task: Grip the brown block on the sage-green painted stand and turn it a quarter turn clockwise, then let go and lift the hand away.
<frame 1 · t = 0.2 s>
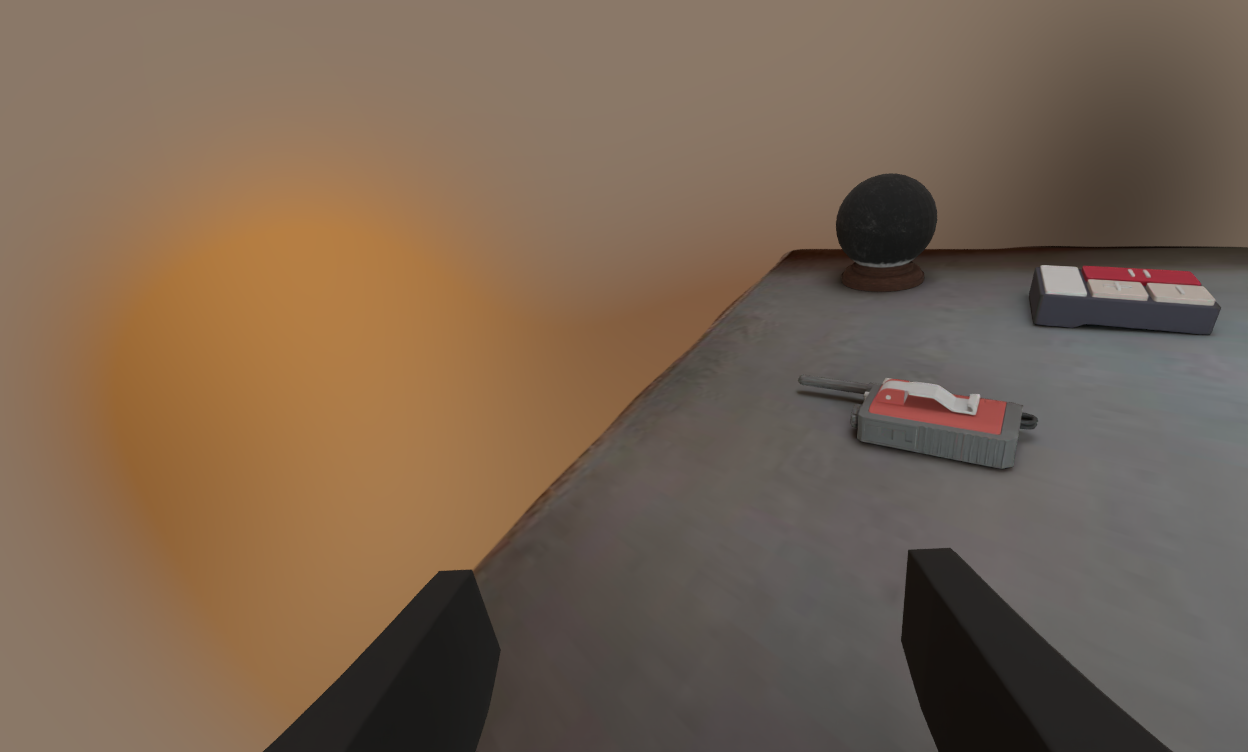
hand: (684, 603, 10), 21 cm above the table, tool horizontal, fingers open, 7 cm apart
ball on wooden base: (881, 280, 88), on the table
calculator: (1110, 314, 68), on the table
walkie-talkie: (897, 426, 52), on the table
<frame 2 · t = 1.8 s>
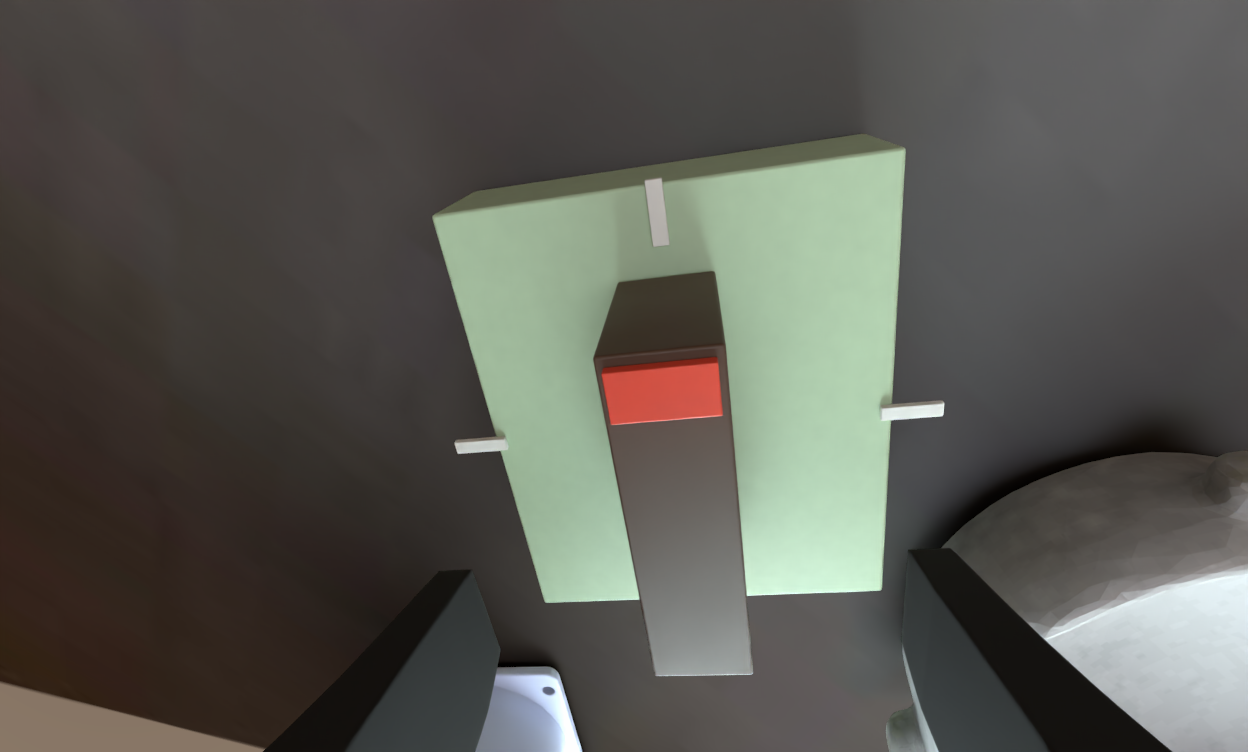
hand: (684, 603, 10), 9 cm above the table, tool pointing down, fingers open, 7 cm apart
brown block: (684, 479, 13), point 5 cm above the table, hinge at 0.0°
stand: (684, 373, 18), on the table
dish: (1083, 606, 20), on the table
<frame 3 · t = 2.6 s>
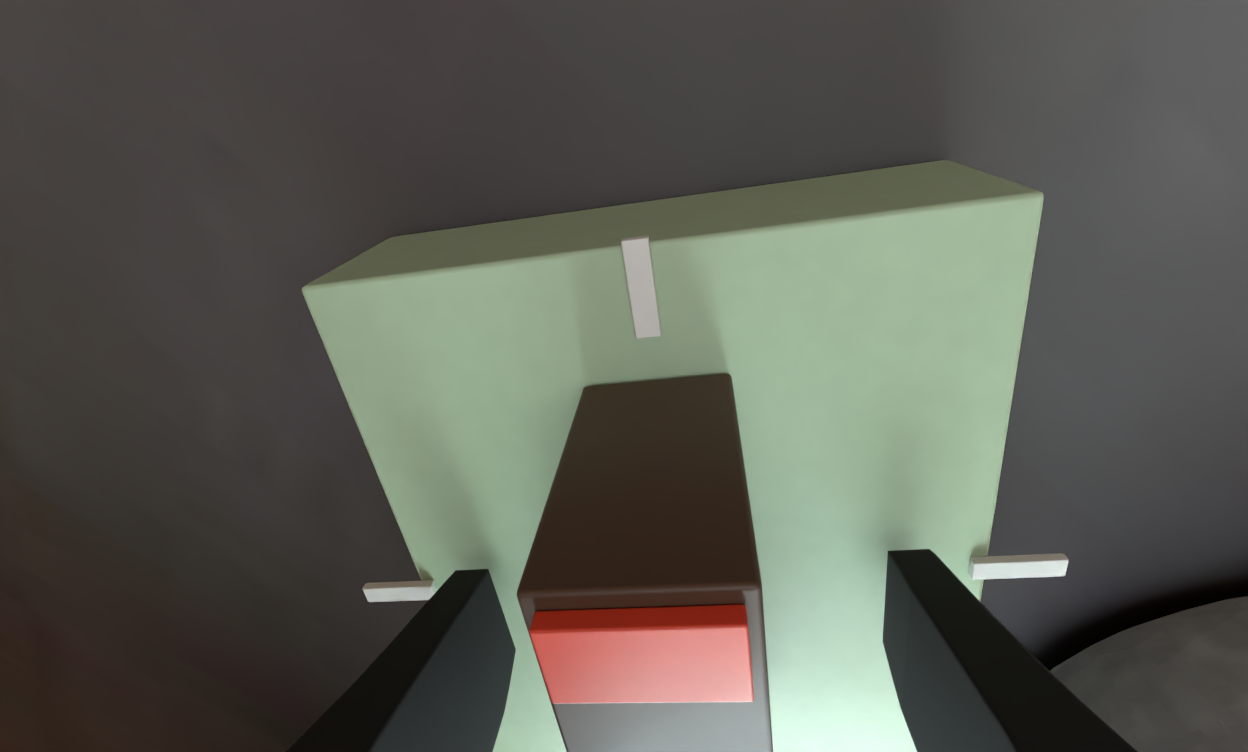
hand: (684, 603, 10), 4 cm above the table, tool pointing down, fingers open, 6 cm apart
brown block: (683, 689, 9), point 5 cm above the table, hinge at 0.0°
stand: (685, 474, 13), on the table
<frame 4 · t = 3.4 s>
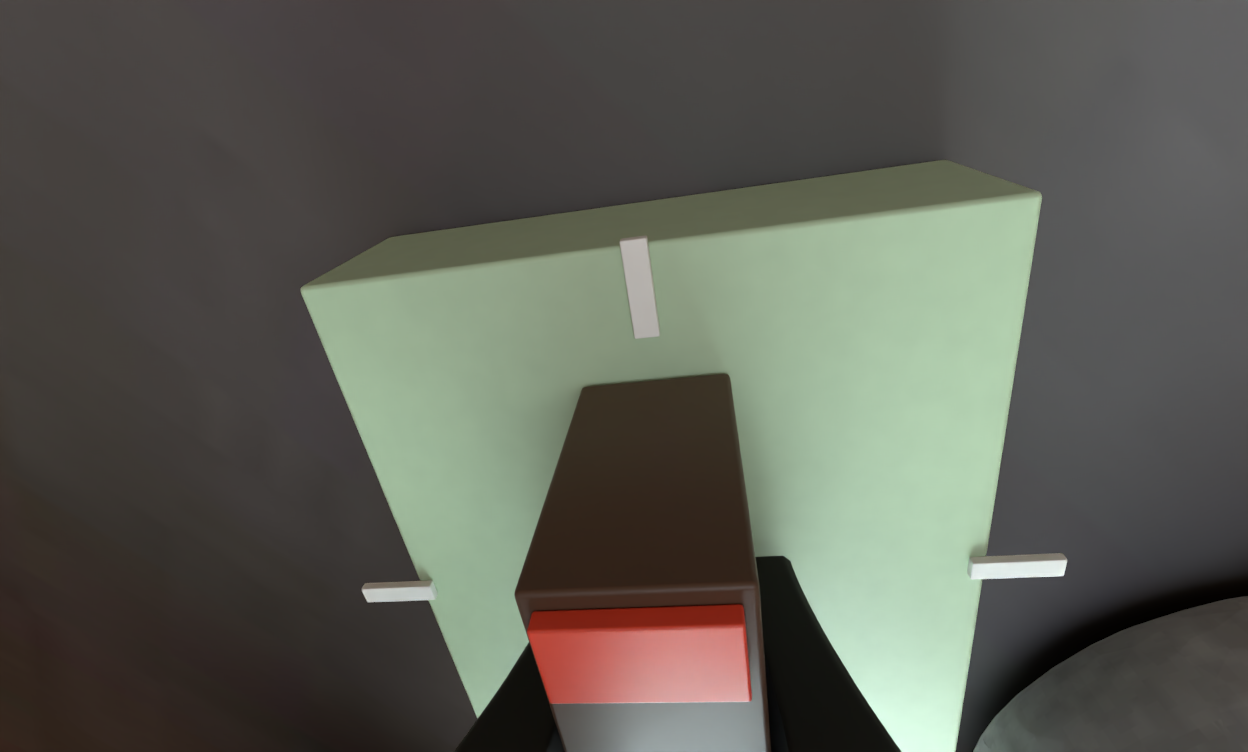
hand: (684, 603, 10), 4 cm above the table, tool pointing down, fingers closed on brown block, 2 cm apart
brown block: (682, 689, 9), point 5 cm above the table, hinge at 0.0°, touching gripper
stand: (684, 474, 13), on the table
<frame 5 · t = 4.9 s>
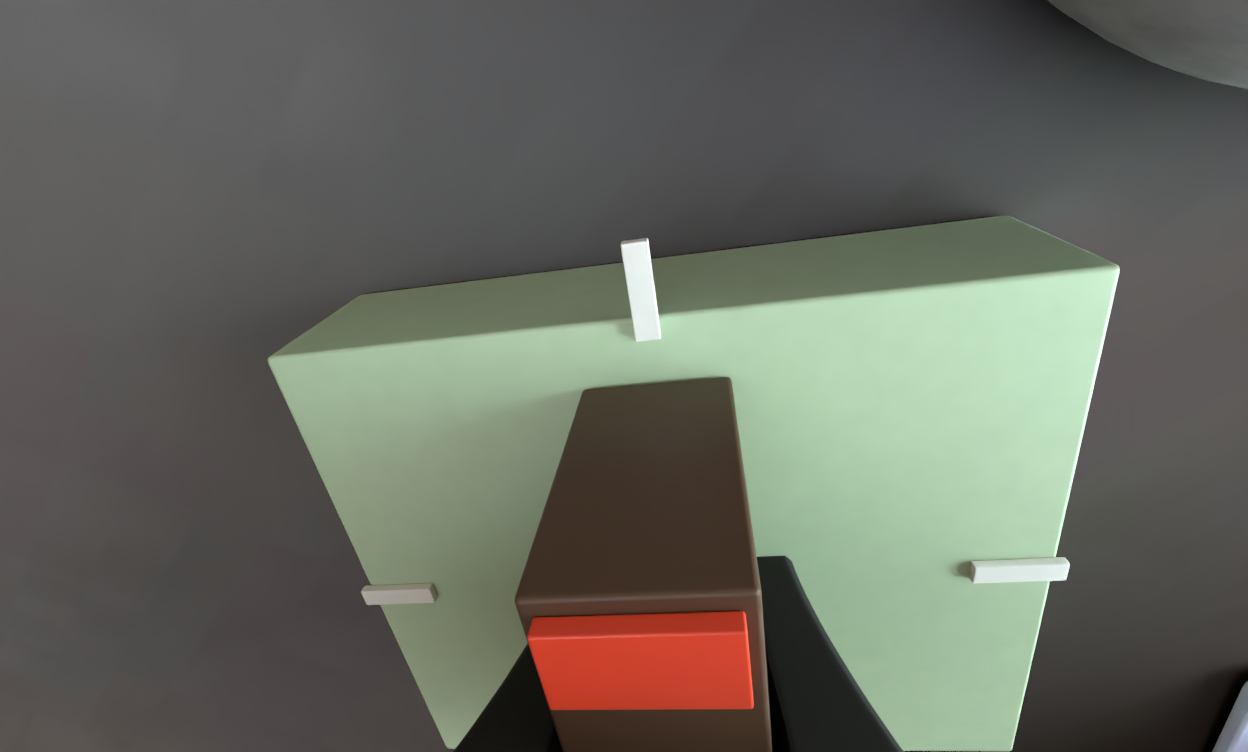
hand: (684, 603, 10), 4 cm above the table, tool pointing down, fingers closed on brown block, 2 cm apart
brown block: (683, 694, 9), point 5 cm above the table, hinge at -90.0°, touching gripper
stand: (684, 476, 13), on the table
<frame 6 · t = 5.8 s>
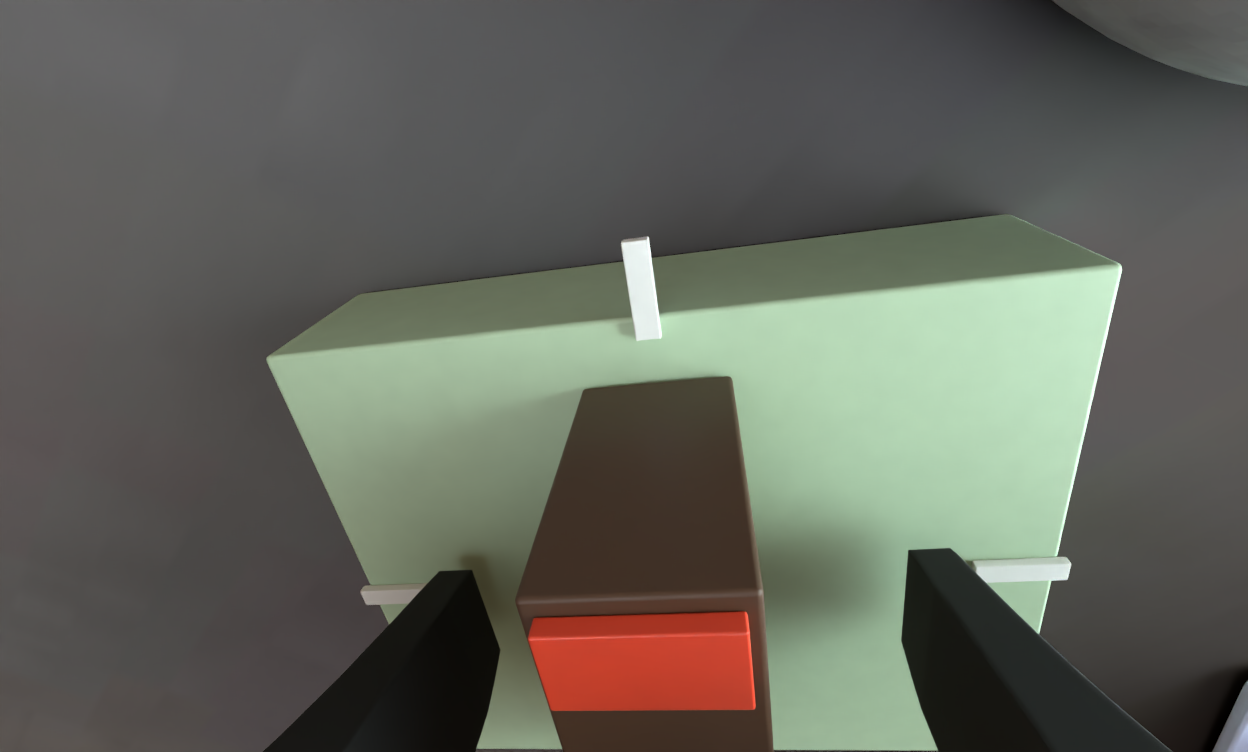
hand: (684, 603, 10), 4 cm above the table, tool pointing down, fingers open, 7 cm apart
brown block: (683, 694, 9), point 5 cm above the table, hinge at -90.1°
stand: (685, 476, 13), on the table
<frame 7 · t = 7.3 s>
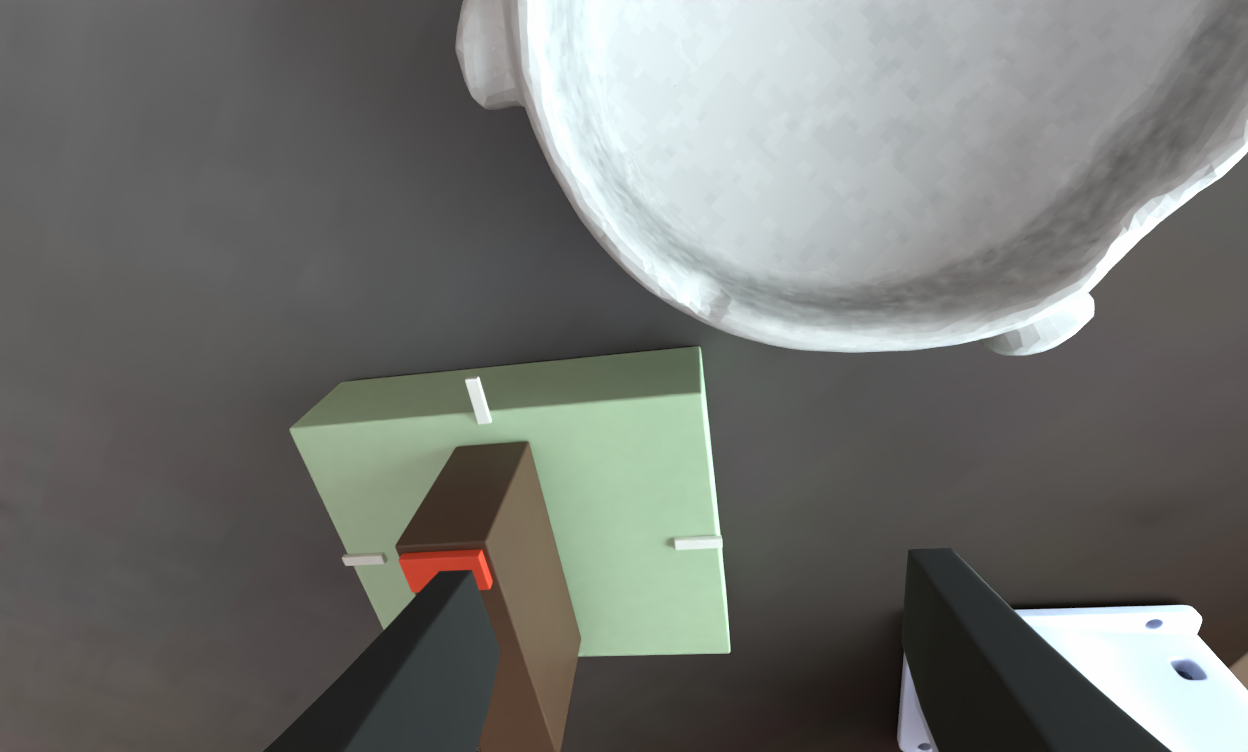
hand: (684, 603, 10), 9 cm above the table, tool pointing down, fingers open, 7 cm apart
brown block: (505, 605, 17), point 5 cm above the table, hinge at -90.1°
stand: (544, 489, 21), on the table
dish: (861, 28, 14), on the table
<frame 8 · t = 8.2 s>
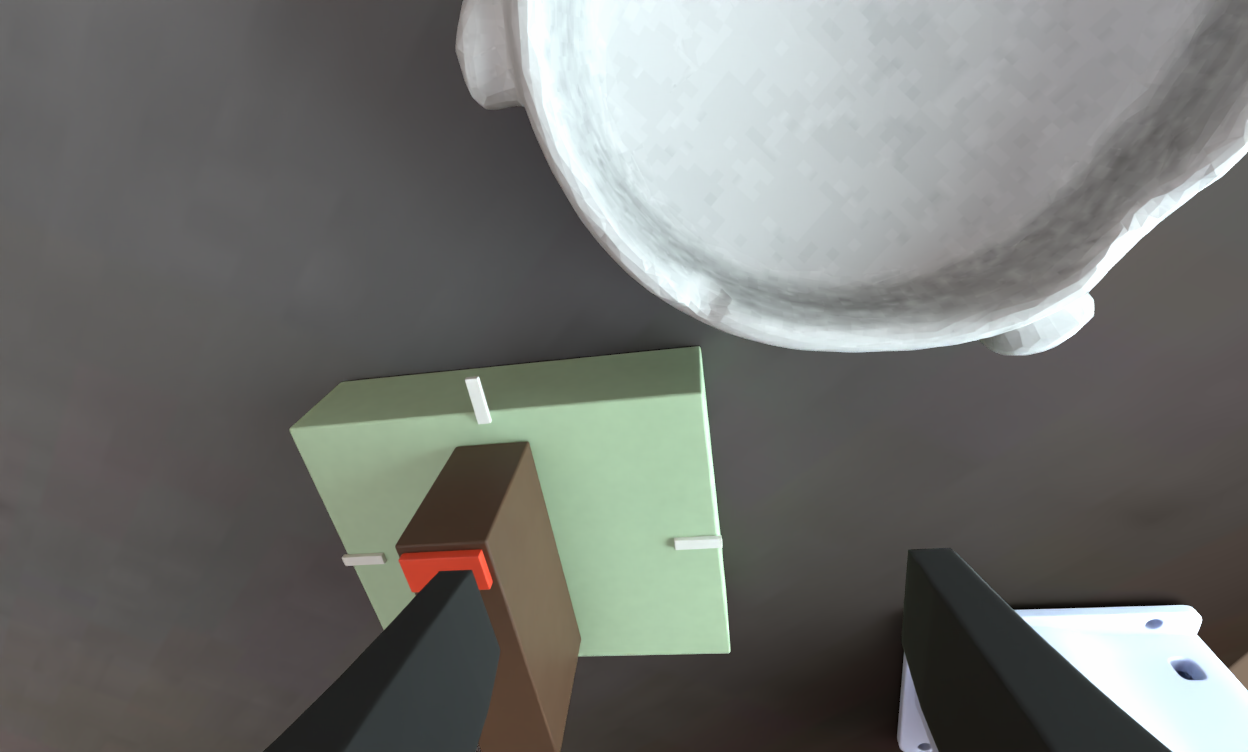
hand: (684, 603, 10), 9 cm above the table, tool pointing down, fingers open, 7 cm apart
brown block: (505, 605, 17), point 5 cm above the table, hinge at -90.1°
stand: (544, 489, 21), on the table
dish: (861, 28, 14), on the table
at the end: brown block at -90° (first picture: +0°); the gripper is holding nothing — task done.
